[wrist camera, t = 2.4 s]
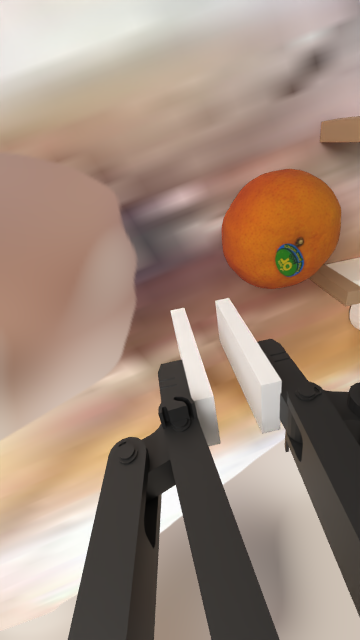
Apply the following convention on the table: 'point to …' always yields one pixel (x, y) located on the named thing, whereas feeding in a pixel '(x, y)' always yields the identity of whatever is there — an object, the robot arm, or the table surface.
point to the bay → (354, 274)
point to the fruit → (281, 228)
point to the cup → (355, 315)
